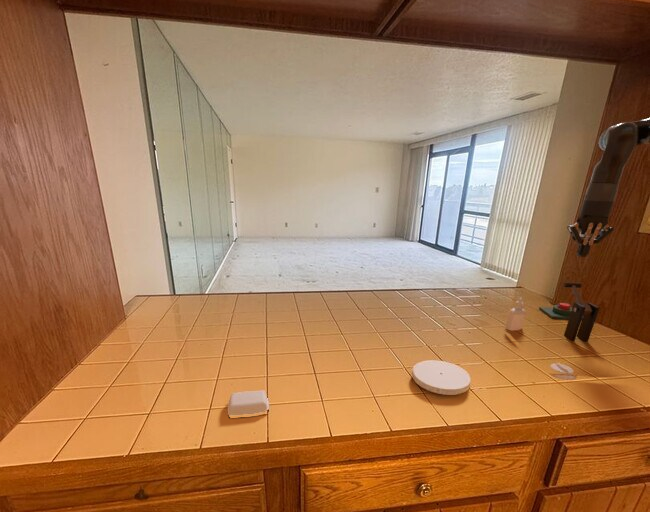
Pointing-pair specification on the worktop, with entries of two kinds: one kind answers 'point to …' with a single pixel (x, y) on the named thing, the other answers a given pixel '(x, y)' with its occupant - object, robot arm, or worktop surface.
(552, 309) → the button box
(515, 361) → the worktop surface
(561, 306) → the button
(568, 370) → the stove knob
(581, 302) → the lever
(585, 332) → the bracket
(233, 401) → the soap
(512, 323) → the eye dropper bottle
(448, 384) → the plastic lid
